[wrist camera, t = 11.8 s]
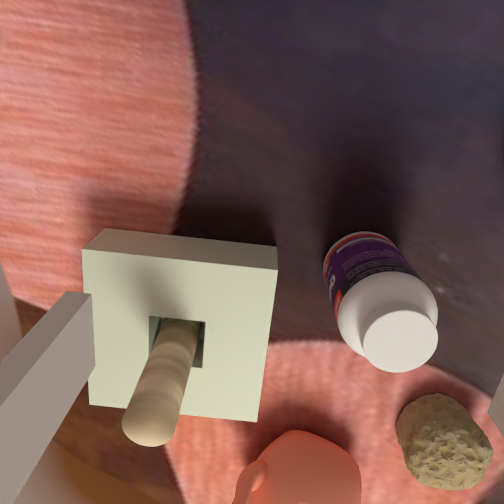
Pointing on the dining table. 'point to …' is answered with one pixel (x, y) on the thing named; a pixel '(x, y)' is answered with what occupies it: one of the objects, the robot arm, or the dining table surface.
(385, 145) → the dining table surface
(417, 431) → the decorative object
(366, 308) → the pill bottle
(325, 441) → the teapot
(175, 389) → the dowel
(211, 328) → the bore block
